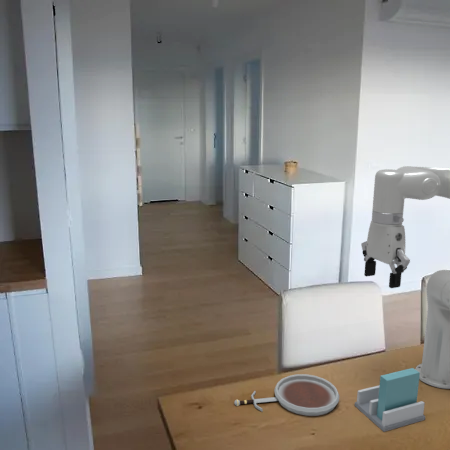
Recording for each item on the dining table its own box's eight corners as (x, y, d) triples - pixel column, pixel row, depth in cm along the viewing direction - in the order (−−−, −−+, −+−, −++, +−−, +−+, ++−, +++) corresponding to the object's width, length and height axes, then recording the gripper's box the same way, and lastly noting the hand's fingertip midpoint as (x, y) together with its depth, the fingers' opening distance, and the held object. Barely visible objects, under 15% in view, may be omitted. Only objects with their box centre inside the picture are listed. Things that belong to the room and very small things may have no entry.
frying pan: (228, 380, 130) (325, 369, 135) (228, 389, 131) (324, 379, 136) (241, 418, 114) (350, 404, 119) (241, 428, 115) (350, 415, 119)
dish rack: (393, 395, 127) (394, 380, 126) (424, 419, 117) (426, 403, 116) (354, 405, 123) (355, 390, 122) (383, 431, 112) (385, 415, 111)
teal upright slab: (408, 407, 120) (412, 367, 118) (415, 412, 118) (419, 372, 116) (376, 416, 117) (380, 375, 114) (383, 421, 115) (387, 380, 112)
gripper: (423, 224, 116) (416, 290, 119) (376, 211, 131) (371, 270, 135) (399, 226, 113) (393, 294, 117) (354, 212, 128) (349, 273, 132)
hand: (381, 281), depth 126 cm, fingers open, 9 cm apart
